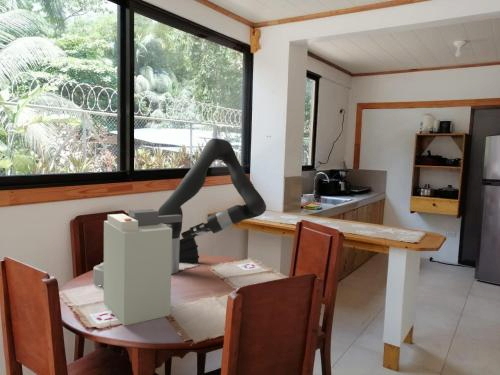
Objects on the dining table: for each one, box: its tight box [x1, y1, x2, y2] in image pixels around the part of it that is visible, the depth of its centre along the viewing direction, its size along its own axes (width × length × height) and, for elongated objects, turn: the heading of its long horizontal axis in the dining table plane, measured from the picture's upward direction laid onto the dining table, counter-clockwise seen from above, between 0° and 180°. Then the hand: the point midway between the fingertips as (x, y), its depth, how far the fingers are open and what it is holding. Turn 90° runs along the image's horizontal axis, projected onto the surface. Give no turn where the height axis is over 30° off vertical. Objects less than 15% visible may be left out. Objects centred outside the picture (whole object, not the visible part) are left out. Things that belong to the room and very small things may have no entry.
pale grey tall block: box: [103, 213, 172, 327], centre depth 146 cm, size 24×17×36 cm
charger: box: [128, 208, 183, 226], centre depth 149 cm, size 6×20×5 cm, turn 126°
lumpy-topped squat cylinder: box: [92, 261, 104, 286], centre depth 174 cm, size 10×13×9 cm
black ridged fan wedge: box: [179, 236, 200, 265], centre depth 209 cm, size 4×13×15 cm, turn 82°
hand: (184, 236), depth 163 cm, fingers open, 8 cm apart
